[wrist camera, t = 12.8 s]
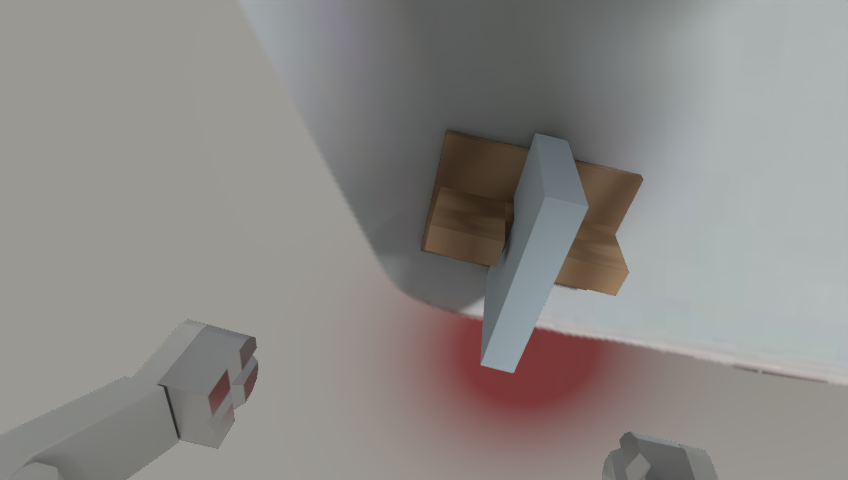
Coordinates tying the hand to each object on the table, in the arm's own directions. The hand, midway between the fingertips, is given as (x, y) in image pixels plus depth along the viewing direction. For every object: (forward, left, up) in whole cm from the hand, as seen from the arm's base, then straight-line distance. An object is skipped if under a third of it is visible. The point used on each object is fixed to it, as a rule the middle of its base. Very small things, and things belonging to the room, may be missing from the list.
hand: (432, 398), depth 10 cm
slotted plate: (-6, +9, -26) cm, 28 cm away
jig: (-6, +9, -27) cm, 29 cm away
